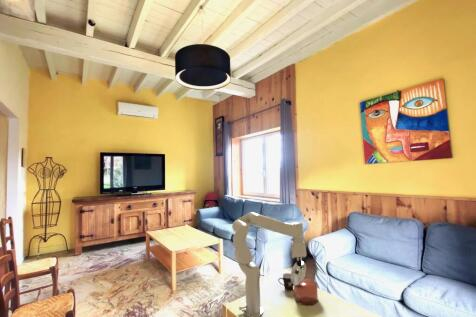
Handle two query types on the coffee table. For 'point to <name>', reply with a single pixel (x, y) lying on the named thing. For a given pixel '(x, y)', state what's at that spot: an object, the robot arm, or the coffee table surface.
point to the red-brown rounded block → (306, 292)
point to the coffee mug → (287, 282)
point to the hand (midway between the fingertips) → (299, 265)
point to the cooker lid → (298, 273)
